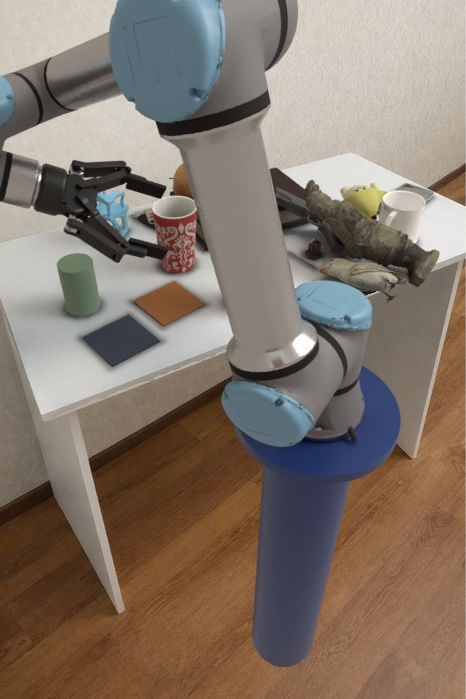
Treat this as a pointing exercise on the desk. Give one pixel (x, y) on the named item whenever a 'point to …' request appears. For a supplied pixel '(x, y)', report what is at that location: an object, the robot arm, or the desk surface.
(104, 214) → the chair
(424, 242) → the desk surface
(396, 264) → the statue
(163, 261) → the mug
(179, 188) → the apple
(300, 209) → the handgun
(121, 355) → the slate mat
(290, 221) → the book
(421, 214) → the mug
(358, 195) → the toy
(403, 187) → the phone
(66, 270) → the canister
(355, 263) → the decorative bird
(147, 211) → the usb flash drive
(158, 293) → the cork mat
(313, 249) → the figurine
